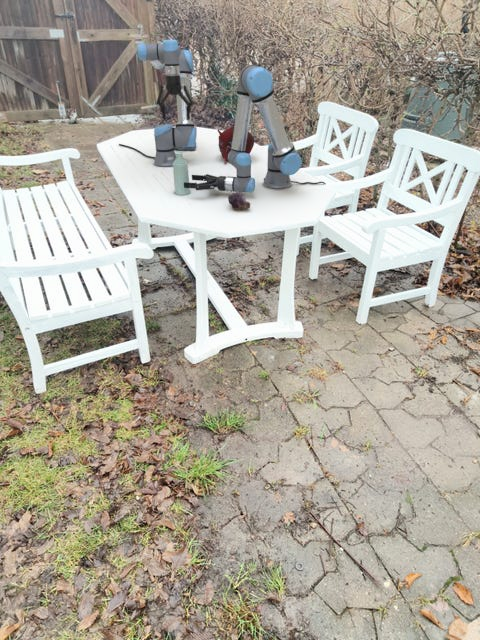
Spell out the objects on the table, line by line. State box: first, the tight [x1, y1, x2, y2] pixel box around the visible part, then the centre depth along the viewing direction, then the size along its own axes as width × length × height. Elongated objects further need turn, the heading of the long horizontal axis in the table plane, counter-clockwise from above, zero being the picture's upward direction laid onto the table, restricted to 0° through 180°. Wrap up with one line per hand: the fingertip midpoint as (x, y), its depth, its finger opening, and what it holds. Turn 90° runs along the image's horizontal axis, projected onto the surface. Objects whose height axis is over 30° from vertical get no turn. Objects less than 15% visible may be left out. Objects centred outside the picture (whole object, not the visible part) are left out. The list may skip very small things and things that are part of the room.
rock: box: [227, 192, 251, 211], centre depth 224 cm, size 12×9×10 cm
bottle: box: [172, 151, 191, 196], centre depth 241 cm, size 8×8×21 cm
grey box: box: [174, 142, 197, 151], centre depth 321 cm, size 17×18×20 cm
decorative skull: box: [217, 126, 255, 165], centre depth 297 cm, size 21×24×25 cm
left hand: (176, 119), depth 244 cm, fingers open, 13 cm apart
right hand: (188, 181), depth 243 cm, fingers open, 13 cm apart
